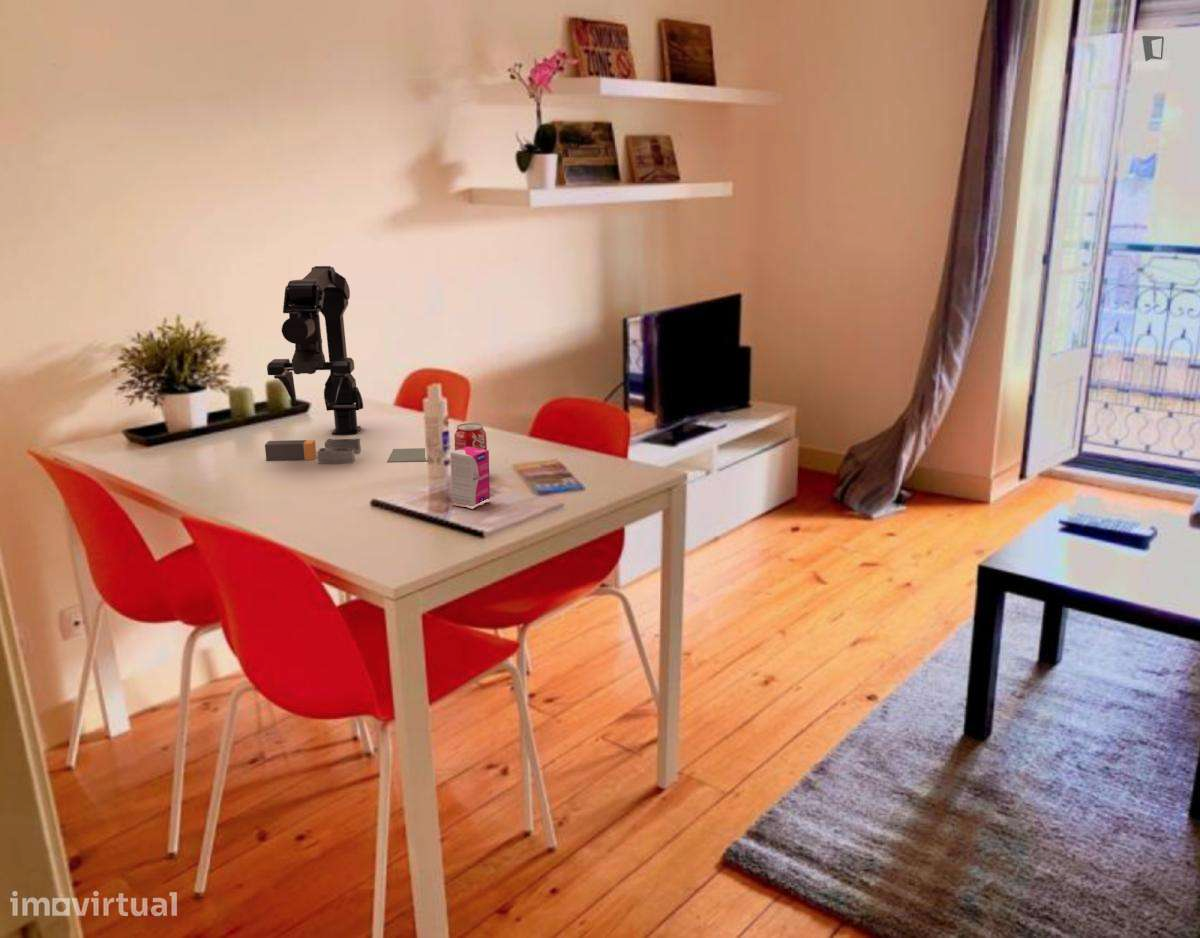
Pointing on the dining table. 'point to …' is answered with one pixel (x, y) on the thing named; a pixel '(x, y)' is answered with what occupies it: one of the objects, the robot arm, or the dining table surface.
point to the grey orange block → (290, 450)
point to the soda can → (470, 436)
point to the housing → (339, 451)
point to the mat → (407, 455)
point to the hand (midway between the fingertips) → (314, 402)
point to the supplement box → (470, 476)
